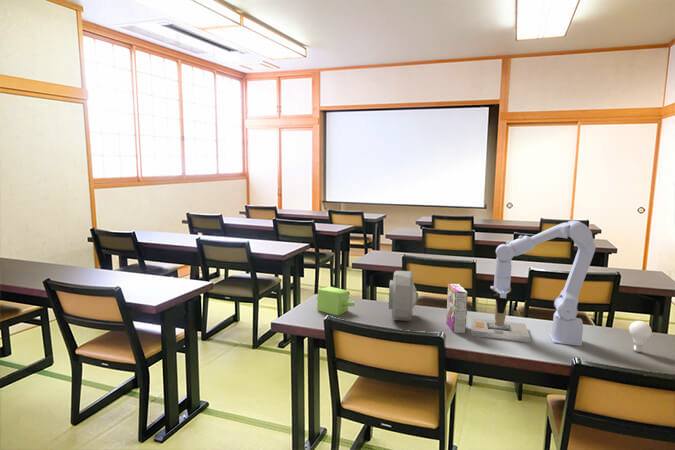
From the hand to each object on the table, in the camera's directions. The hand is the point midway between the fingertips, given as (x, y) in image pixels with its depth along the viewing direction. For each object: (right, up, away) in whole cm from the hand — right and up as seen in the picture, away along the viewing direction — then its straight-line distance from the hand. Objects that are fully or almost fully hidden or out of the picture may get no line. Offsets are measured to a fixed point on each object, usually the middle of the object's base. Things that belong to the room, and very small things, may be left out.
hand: (500, 311), depth 164 cm
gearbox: (-63, -5, +23) cm, 67 cm away
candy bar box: (-16, -8, +5) cm, 18 cm away
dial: (-35, -6, +14) cm, 38 cm away
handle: (0, -6, +1) cm, 6 cm away
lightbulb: (+42, -11, -15) cm, 46 cm away
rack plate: (0, -8, +1) cm, 8 cm away
